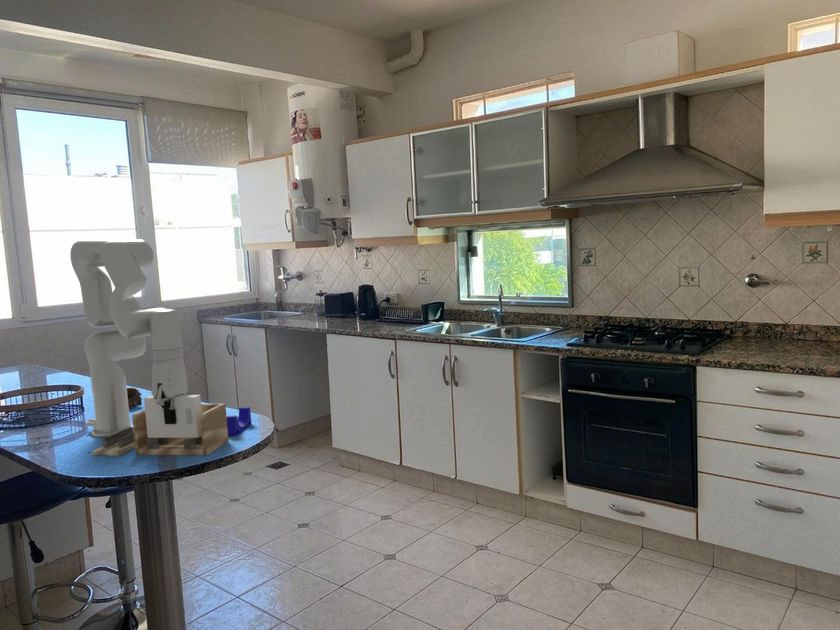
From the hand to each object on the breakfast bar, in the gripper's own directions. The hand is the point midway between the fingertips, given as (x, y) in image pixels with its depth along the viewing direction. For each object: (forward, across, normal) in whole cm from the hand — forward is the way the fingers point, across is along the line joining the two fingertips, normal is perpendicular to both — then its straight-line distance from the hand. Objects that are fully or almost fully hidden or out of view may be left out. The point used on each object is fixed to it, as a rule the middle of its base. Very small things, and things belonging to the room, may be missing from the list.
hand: (174, 421), depth 172 cm
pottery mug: (+9, -50, -51) cm, 71 cm away
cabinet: (+8, -3, 0) cm, 9 cm away
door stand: (+8, -5, -19) cm, 21 cm away
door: (+4, 0, 0) cm, 4 cm away
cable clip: (+9, -20, +7) cm, 23 cm away
